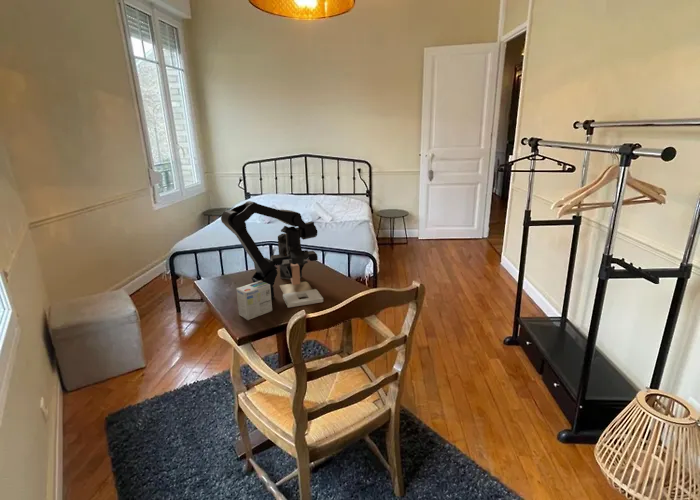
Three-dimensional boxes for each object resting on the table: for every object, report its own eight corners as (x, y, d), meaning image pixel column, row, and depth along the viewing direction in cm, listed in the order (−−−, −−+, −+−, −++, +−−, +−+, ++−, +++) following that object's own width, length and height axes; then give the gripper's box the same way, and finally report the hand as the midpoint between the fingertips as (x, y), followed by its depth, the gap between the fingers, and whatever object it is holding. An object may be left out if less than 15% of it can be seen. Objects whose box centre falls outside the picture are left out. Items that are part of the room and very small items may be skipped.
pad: (284, 295, 157) (284, 293, 156) (279, 286, 166) (279, 285, 165) (312, 291, 161) (312, 289, 160) (306, 282, 170) (306, 281, 169)
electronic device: (279, 278, 175) (276, 236, 169) (284, 274, 180) (282, 233, 174) (297, 280, 172) (295, 237, 166) (303, 276, 177) (301, 234, 172)
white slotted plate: (287, 307, 145) (287, 304, 145) (282, 297, 154) (282, 294, 154) (323, 301, 150) (323, 298, 150) (316, 292, 159) (316, 289, 159)
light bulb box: (262, 305, 147) (260, 279, 144) (273, 311, 143) (271, 284, 140) (237, 315, 140) (235, 287, 137) (248, 320, 136) (245, 292, 132)
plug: (293, 285, 160) (292, 267, 157) (290, 281, 164) (289, 263, 161) (300, 284, 161) (299, 266, 158) (297, 280, 165) (296, 262, 162)
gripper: (274, 249, 147) (276, 287, 151) (320, 244, 153) (321, 280, 157) (269, 241, 157) (271, 277, 161) (313, 237, 163) (314, 272, 167)
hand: (295, 277), depth 161 cm, fingers closed on plug, 3 cm apart
